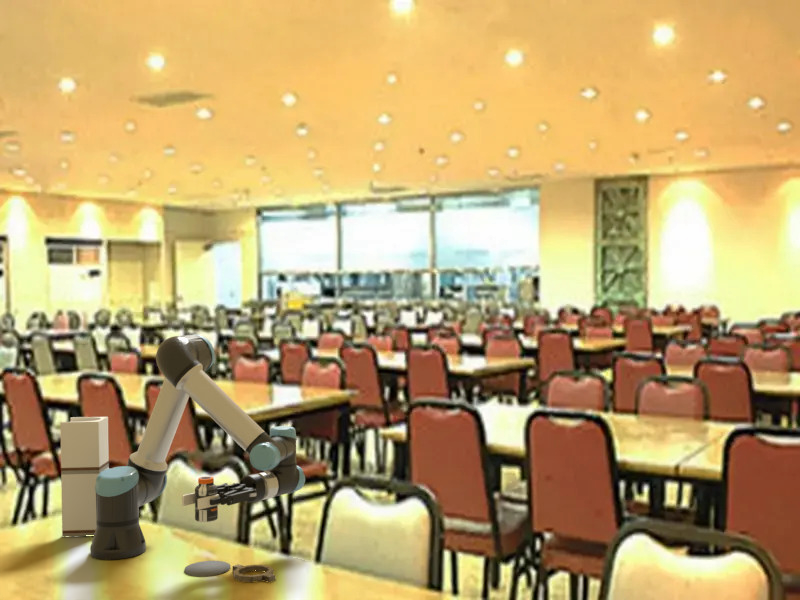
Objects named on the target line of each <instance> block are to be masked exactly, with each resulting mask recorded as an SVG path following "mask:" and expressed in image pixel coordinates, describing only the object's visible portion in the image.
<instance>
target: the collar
mask: <svg viewBox="0 0 800 600" xmlns="http://www.w3.org/2000/svg"><path fill="white" fill-rule="evenodd" d="M255 570H256V571H255ZM233 571H234V572H233ZM248 571H253V572H260V571H265V572H266V573H265V572H262V573H261V574H260V573H259V574H253V575H252V574H245V573H244V572H246V573H249V572H248ZM232 572H233V579H234V580H235V579H237V580H236V581H238V580H239V581H238V582H241V581H245V582H244V583H254V582H253V581H258V582H266V581H268V582H267V583H269V582H270V583H272V582H271V581H273V580H275V581H276V574H274V569H273V567H272V566H269V565H266V564H249V565H242V564H235V565H232ZM242 573H243V574H242ZM262 580H264V581H262ZM273 582H274V581H273Z"/></svg>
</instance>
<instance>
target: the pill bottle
mask: <svg viewBox="0 0 800 600" xmlns="http://www.w3.org/2000/svg"><path fill="white" fill-rule="evenodd" d="M197 481H198V482H197V483H198V485H196V487H195V488H194V493H195V503H194V519H195V521H196V522H199V523H211V522H214V521H215V522H216V520H218V518H219V511H218V510H219V507H218V506H219V505H217V506H213V507H209V508H204V509H200V510H199V509H198V499H199V498H204V497H208V496H212V495H217V494H218V493H217V485H216V484H214V483H215V482H214V481H215V480H214V477H213V476H201V477H198V480H197Z"/></svg>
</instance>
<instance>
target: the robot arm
mask: <svg viewBox="0 0 800 600" xmlns="http://www.w3.org/2000/svg"><path fill="white" fill-rule="evenodd" d="M215 357H216V354H215V348H214V347H213V344H212V343H211V341H210V340H209V339H208V338H206V336H203V335H200V334H195V333H189V334H184V335H175V336H174V335H173V336H170V337H168V338H166V339H165V340H164V341H162V342H161V343H160V344H159V346H158V348H157V350H156V355H155V361H156V365H157V367H158V370H159V372H161V374H162V376H163V378H164V379H163V382H162V384H161V388H160V390H159V393H158V395H157V398H156V401H155V404H154V407H153V409H152V411H151V415H150V417H149V419H148V422H147V424H146V428H145V431H144V433H143V436H142V437H141V438H142V439H141V440H140V444H139V446H138V449H137V451H135V452H133V453H131V454H130V455H129V458H128V461H127V463H126V465H122V466H114V467H112V468H110V467H109V469H106V470H104V471H102V472H101V473H99V474H98V476H97V478H96V485H95V491H96V530H95V534H94V537H92V540H91V541H92V542H91V544H90V547H89V550H90V553H89V554H90V556H91V557H92V558H94V559H97V560H111V561H112V560H121V559H128V558H129V559H130V558H134V557H137V556H139V555H141V554H143V553H145V552H146V550H147V548H146V547H147V546H146V545H147V544H146V543H147V542H146V539H145V537H144V534H143V530H142V528H141V525H140V509H139V508H140V507H142V506H144V505H147V504H149V503H150V502H153V501H155V500H156V499H157V498H159V496H161V495H162V494H163V493H164V491H165V489H166V487H167V483H168V475H167V474H166V473H167V471H168V466H169V465H168V464H167V462H166V459H167V457H168V454H169V451H170V449H171V445H172V443H173V440H174V437H175V435H176V432H177V431H178V427H179V425H180V422H181V420H182V417H183V414H184V411H185V409H186V406H187V403H188V402H189V398H191V400H192V401H194V403H196V405H198V406H199V407H200V408H201V409H202V410H203V411H204V412H205V413H206V414H207V415H208V416H209V417H210V418H211V419H212V420H213V421H214V422H215V423H216V424H217V425H218V426H219V427H220V428H221V429H223V430H224V432H225V433H226V434H227V435H228V436H229V437H230V438H231V439H232V440H233V441H234V442H235V443H236V444H237V445H238V446H240V448H242V450H244V452H245V453H246V454H247V455H249V456H248V457H249V461H250V464H251V466H252V467H253V468H254V469H256V470H257V471H260V472H259V473H252V474H248V475H244V476H243V477H242V478H241V480H240V482H234V483H232V484H228V482H225V483H221V484H218V485H216V486H217V493H218V494H217V495H212V496H208V497H204V498H199V499H198V509H199V510H200V509H204V508H209V507H213V506H217V505H218V506H220V505H221V506H222V505H223V506H224V505H226V506H228V507H229V506H232V505H235V504H240V503H243V502H246V503H250V504H251V503H255V502H259V501H263V500H267V499H272V498H274V497H278V496H282V495H289V494H292V493H295V492H298V491H300V490H301V489H302V488H303V487H304V485H305V482H306V475H305V474H304V470H303V468H302V467H301V466H299V465H297V439H298V438H297V434H296V433H297V431H296V428H295V427H293V426H288V425H279V426H274V427H272V428H270V430H269V434H267V432H266V431H265V430H264V429H263V428H262V427H261V426H260V425H259V424H258V423H257V422H256V421H255V420H254V419H252V417H250V416H249V415H248V414H247V412H245V411H244V409H242V407H240V406H239V405H238V404H237V403H236V402H235V401H234V400H233V399H232V398H231V397H230V395H228V394H227V393H226V392H225V391H224V390H223V389H222V388H221V387H220V386H219V385H218V384H217V383H216V382H215V381H214V380H213V379H212V378H211V377H210V376H209V375H208V374H207V373H206V371H208V370H209V369H210V368H211V367H212V365H213V364H214V361H215ZM189 505H190V506H191V505H195V492H191V493H186V494H183V495H181V506H183V507H185V506H189Z"/></svg>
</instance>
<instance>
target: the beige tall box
mask: <svg viewBox="0 0 800 600" xmlns="http://www.w3.org/2000/svg"><path fill="white" fill-rule="evenodd" d="M59 424H60V428H59V429H60V431H59V432H60V475H61V476H60V477H61V483H60V484H61V537H62V536H86V535H94V534H95V530H96V491H95V485H96V478H97V476H98V474H99V473H101V472H102V471H104V470H106V469H109V468H110V461H109V456H110V454H109V453H110V450H109V416H90V417H89V416H76V417H75V416H73V417H70V421H60V423H59Z"/></svg>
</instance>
